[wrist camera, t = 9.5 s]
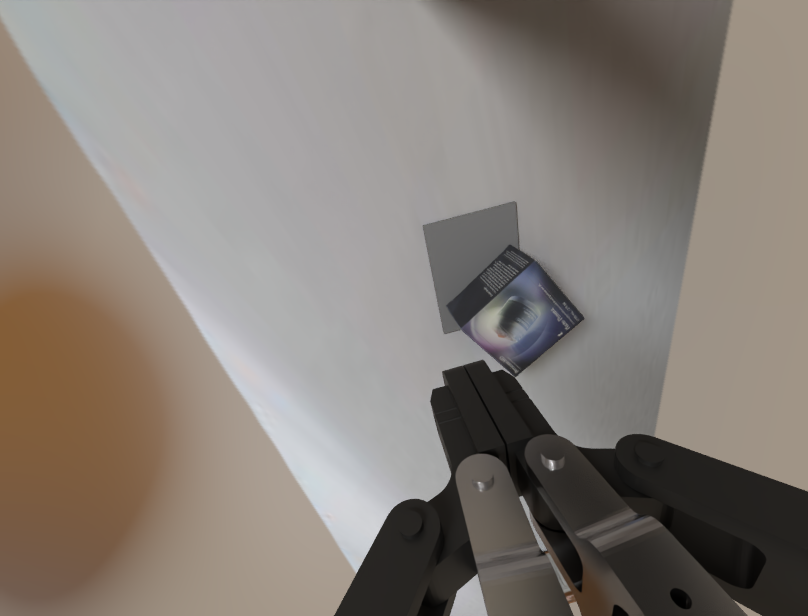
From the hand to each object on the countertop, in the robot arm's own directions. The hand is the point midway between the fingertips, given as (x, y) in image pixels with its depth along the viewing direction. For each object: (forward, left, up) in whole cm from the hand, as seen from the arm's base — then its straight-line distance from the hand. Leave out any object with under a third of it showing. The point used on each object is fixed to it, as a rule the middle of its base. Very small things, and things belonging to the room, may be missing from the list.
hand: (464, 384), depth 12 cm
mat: (+8, +9, -27) cm, 30 cm away
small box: (+10, +16, -24) cm, 30 cm away
